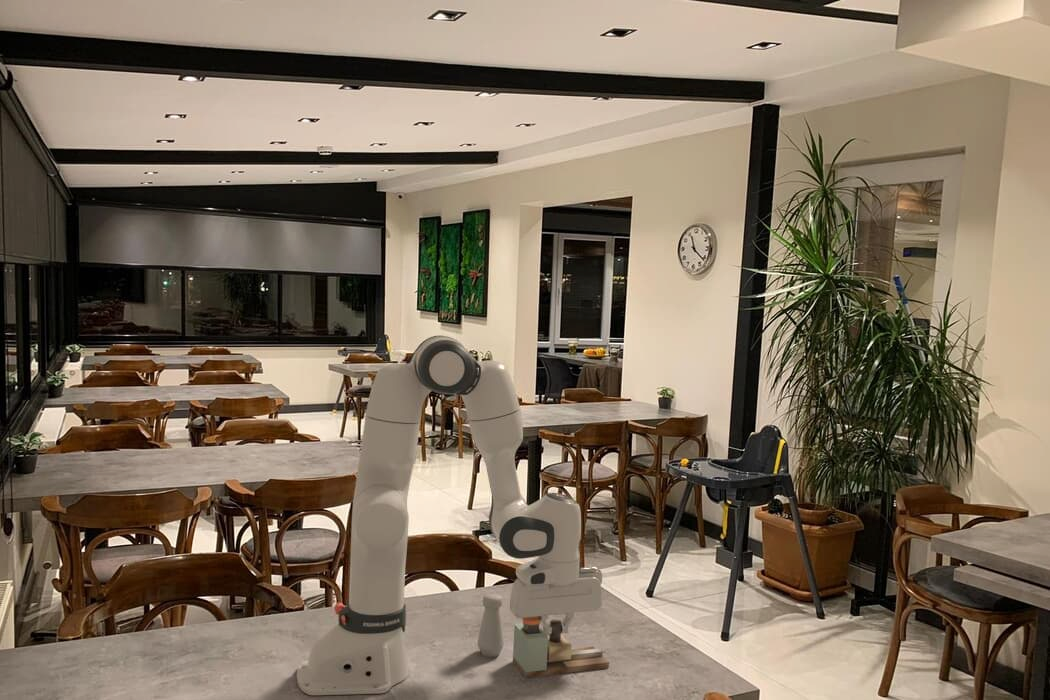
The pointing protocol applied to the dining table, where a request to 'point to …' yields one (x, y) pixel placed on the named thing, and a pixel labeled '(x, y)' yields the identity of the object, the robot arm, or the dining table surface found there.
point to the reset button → (531, 625)
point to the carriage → (557, 644)
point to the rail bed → (571, 663)
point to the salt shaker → (491, 627)
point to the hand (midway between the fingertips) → (555, 633)
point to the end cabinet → (530, 649)
